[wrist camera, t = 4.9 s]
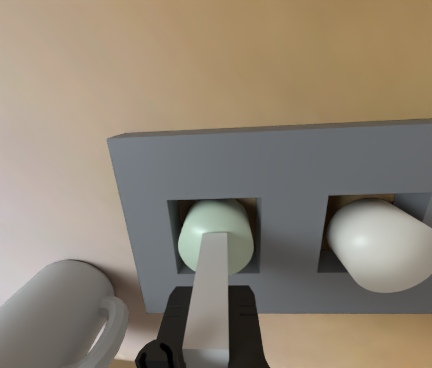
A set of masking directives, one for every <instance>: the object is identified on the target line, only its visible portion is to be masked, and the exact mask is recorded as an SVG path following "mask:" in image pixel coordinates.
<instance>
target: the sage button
mask: <svg viewBox="0 0 432 368" xmlns="http://www.w3.org/2000/svg"><path fill="white" fill-rule="evenodd" d="M203 233H227V244H228V273H229V275H232V274H235V273H237V272H239V271H240V270H242V269H243V268H244V267H245V266H246V265H247V264H248V263H249V261H250V259H251V257H252V255H253V249H254V244H253V239H252V234H251V229H250V224H249V219H248V215H247V212H246V210H245V208H244V207H243V206H242V205H241V204H240V203H239V202H238V201H237V200H235V199H233V198H224V199H199V200H197V201H196V202H195V203H194V204H193V205H192V206H191V207H190V209H189V211H188V213H187V216H186V219H185V222H184V225H183V228H182V231H181V234H180V237H179V241H178V249H179V253H180V256H181V258H182V260H183V261H184V262H185V264H186V265H187V266H188V267H189V268H191V269H192V270H193V271H195V272H196V268H197V262H198V256H199V251H200V245H201V240H202V234H203Z"/></svg>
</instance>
